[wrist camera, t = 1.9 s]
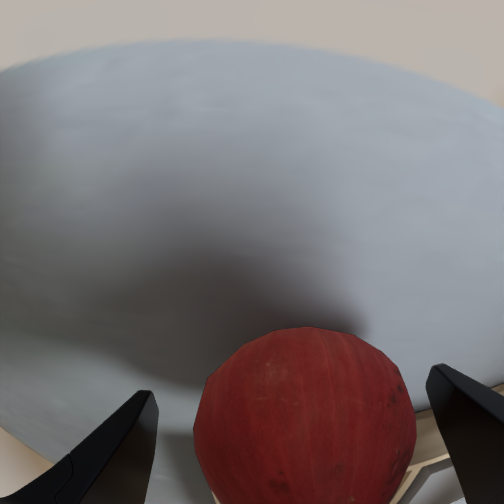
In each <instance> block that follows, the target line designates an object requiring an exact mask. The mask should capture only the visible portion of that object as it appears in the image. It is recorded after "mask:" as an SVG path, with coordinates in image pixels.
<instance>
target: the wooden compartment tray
mask: <svg viewBox="0 0 504 504" xmlns="http://www.w3.org/2000/svg"><path fill="white" fill-rule="evenodd" d="M492 390H494V391H496V392H498V393H499V394H501V395H503V396H504V384H501V385H499V386H497V387H494V388H492ZM415 415H416V428H417V439H416V444H415V448H414V453H413V457H412V459H411V462H410V464H409V466H408V468H407V471H406V473H405V475H404V477H403V479H402V482H401V484H400V486H399V488H398V490H397V492H396V494H395V496H394V497H393V499H392V500H391V502H390V504H450V503H452V502H454V501H457V500H459V499H461V498H463V497H464V494H463V491H462V488H461V486H460V483H459V480H458V477H457V474H456V472H455V469H454V466H453V464H452V461H451V459H450V456H449V454H448V451H447V448H446V446H445V444H444V441H443V439H442V436H441V434H440V431H439V429H438V426H437V424H436V421H435V417H434V414H433V411H432V409H429V410H425V411H422V412H418V413H415ZM212 494H213V492H212ZM213 497H214V499H215V502H216V504H220V503H219V501H218V500H217V498H216V497H215V495H214V494H213Z"/></svg>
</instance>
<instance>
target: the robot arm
mask: <svg viewBox="0 0 504 504" xmlns="http://www.w3.org/2000/svg"><path fill="white" fill-rule="evenodd" d="M426 391H427V395H428V398H429V401H430V404H431V407H432V411H433V414H434V417H435V421H436V424H437V426H438V429H439V431H440V434H441V436H442V439H443V441H444V444H445V446H446V448H447V451H448V454H449V456H450V459H451V461H452V464H453V466H454V469H455V472H456V474H457V477H458V480H459V483H460V486H461V488H462V491H463V494H464V497H465V500H466V503H467V504H504V396H503V395H501V394H499V393H498V392H496V391H494V390H492V389H490V388H488V387H486V386H485V385H483V384H481V383H479V382H477V381H475V380H473V379H472V378H470V377H468V376H466V375H464V374H462V373H460V372H459V371H457V370H455V369H453V368H451V367H449V366H447V365H446V364H443V363H441V364H437V365H434V366H432V368H431V370H430V373H429V376H428V379H427V381H426ZM158 417H159V410H158V406H157V403H156V400H155V397H154V394H153V392H152V391H150V390H139V391H137V392H136V393H135V394H134V395H133V396H132V397H131V398H130V399H128V400H127V401H126V402H125V403H124V404H123V405H122V406H121V407H120V408H119V409H117V410H116V411H115V412H114V413H113V414H112V415H111V416H110V417H109V418H107V419H106V420H105V421H104V422H103V423H102V424H101V425H100V426H99V427H97V428H96V429H95V430H94V431H93V432H92V433H91V434H90V435H89V436H87V437H86V438H85V439H84V440H83V441H82V442H81V443H80V444H78V445H77V446H76V447H75V448H74V449H73V450H72V451H70V454H69V453H68V454H67V455H66V456H65V457H63V458H62V459H61V460H60V461H59V462H58V463H56V464H55V465H54V466H53V467H52V468H50V469H49V470H47V471H46V472H45V473H43V474H42V475H40V476H39V477H38V478H36V479H35V480H33V481H32V482H30V483H29V484H27V485H26V486H24V487H23V488H21V489H20V490H18V491H16V492H15V493H13V494H11V495H9V496H6V497H3V498H0V504H144V502H145V497H146V493H147V488H148V483H149V478H150V474H151V469H152V465H153V460H154V455H155V447H156V436H157V426H158Z"/></svg>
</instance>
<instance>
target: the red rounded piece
mask: <svg viewBox="0 0 504 504" xmlns="http://www.w3.org/2000/svg"><path fill="white" fill-rule="evenodd" d="M193 434H194V445H195V453H196V455H197V458H198V461H199V463H200V466H201V468H202V471H203V473H204V476H205V478H206V480H207V483H208V485H209V487H210V489H211V490H212V492H213V494H214V495H215V497H216V498H217V500H218V501H219V503H220V504H390V502H391V500H392V499H393V497H394V496H395V494H396V492H397V490H398V488H399V486H400V484H401V482H402V479H403V477H404V475H405V473H406V471H407V468H408V466H409V464H410V462H411V459H412V457H413V453H414V448H415V444H416V439H417V428H416V415H415V412H414V409H413V406H412V403H411V400H410V397H409V394H408V391H407V388H406V386H405V383H404V381H403V378H402V376H401V374H400V371H399V369H398V367H397V366H396V365H395V364H394V363H393V362H392V361H391V360H390V359H389V358H388V357H387V356H386V355H385V354H384V353H383V352H382V351H380V350H378V349H377V348H375V347H373V346H372V345H370V344H368V343H367V342H365V341H363V340H362V339H360V338H358V337H357V336H355V335H352V334H347V333H342V332H336V331H331V330H325V329H320V328H315V327H309V326H307V327H299V328H290V329H280V330H274V331H272V332H270V333H268V334H266V335H263V336H261V337H259V338H257V339H254V340H252V341H250V342H247V343H245V344H244V345H243V346H242V347H240V348H239V349H238V350H237V351H236V352H235V353H234V354H233V355H232V356H231V357H230V358H228V359H227V360H226V361H225V362H224V363H223V364H222V365H221V366H220V367H219V368H218V369H217V370H216V371H215V372H214V373H213V374H212V375H211V376H209V377H208V378H207V382H206V385H205V388H204V391H203V394H202V397H201V401H200V404H199V408H198V412H197V415H196V419H195V423H194V427H193Z"/></svg>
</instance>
